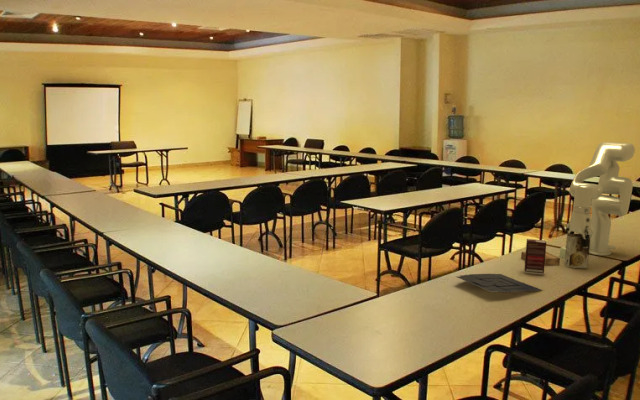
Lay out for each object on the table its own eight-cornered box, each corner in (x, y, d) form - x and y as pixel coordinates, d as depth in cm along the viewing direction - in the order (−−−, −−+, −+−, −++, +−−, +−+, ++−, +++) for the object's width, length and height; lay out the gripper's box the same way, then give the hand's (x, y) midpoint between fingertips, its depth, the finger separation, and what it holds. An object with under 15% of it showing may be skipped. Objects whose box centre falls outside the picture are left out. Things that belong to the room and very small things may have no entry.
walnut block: (542, 258, 269) (543, 250, 268) (559, 265, 256) (560, 258, 255) (520, 259, 266) (521, 252, 265) (536, 267, 253) (537, 259, 253)
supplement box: (542, 272, 244) (546, 240, 241) (543, 275, 240) (547, 242, 237) (523, 270, 247) (526, 238, 244) (524, 273, 243) (527, 240, 240)
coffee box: (582, 264, 257) (585, 233, 254) (587, 268, 251) (591, 236, 248) (563, 263, 258) (566, 233, 255) (568, 267, 251) (571, 236, 248)
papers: (451, 281, 227) (452, 273, 226) (499, 279, 241) (500, 271, 241) (492, 299, 206) (494, 291, 205) (542, 296, 220) (544, 288, 220)
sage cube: (567, 256, 272) (568, 247, 271) (574, 258, 267) (575, 249, 266) (559, 256, 271) (560, 247, 270) (565, 259, 266) (566, 250, 265)
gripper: (601, 213, 241) (596, 248, 244) (575, 206, 258) (572, 239, 261) (587, 213, 240) (583, 249, 242) (562, 207, 256) (559, 240, 259)
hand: (577, 244), depth 252 cm, fingers open, 9 cm apart
